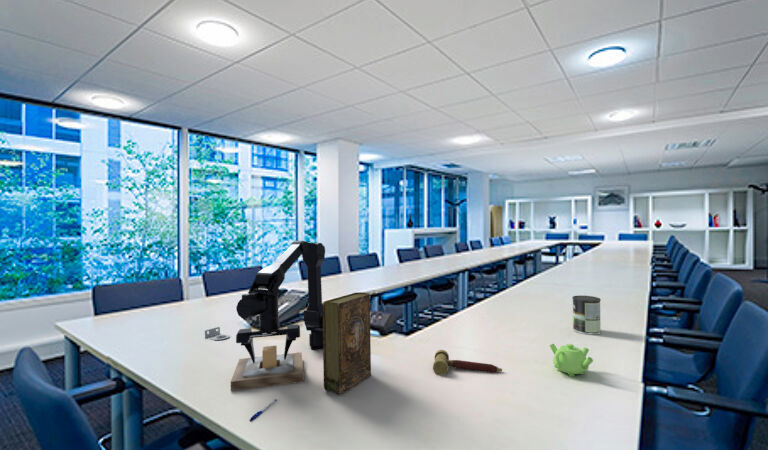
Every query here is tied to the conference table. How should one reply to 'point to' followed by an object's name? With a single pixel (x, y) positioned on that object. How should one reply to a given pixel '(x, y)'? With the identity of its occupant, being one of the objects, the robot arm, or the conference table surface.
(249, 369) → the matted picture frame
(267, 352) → the tan cardboard-colored box
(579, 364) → the teapot
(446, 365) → the gavel
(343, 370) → the book
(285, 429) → the conference table surface
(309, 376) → the conference table surface
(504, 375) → the conference table surface
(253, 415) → the ballpoint pen
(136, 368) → the conference table surface
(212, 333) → the bracket
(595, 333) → the coffee can
